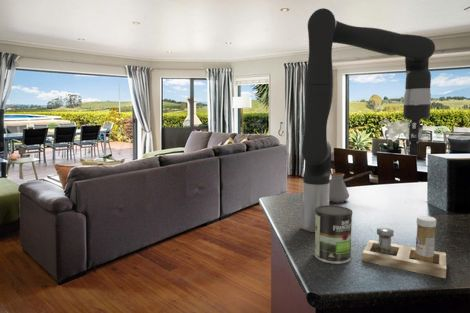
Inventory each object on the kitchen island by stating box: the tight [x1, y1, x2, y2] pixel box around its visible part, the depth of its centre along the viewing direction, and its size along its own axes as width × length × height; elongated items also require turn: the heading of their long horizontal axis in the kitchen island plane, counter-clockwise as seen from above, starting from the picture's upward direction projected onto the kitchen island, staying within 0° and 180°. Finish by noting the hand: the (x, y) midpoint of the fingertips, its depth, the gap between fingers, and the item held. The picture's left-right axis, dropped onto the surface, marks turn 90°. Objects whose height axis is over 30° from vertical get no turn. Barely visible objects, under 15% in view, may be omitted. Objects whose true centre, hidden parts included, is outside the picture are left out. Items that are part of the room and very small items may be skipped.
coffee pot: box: [329, 170, 373, 203], centre depth 156 cm, size 21×12×15 cm, turn 71°
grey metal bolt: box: [376, 227, 395, 255], centre depth 95 cm, size 4×4×8 cm
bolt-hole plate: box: [361, 239, 447, 279], centre depth 92 cm, size 20×11×2 cm, turn 58°
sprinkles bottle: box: [414, 215, 437, 263], centre depth 89 cm, size 5×5×14 cm
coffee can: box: [314, 204, 353, 265], centre depth 96 cm, size 10×10×14 cm
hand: (414, 153), depth 107 cm, fingers open, 8 cm apart
